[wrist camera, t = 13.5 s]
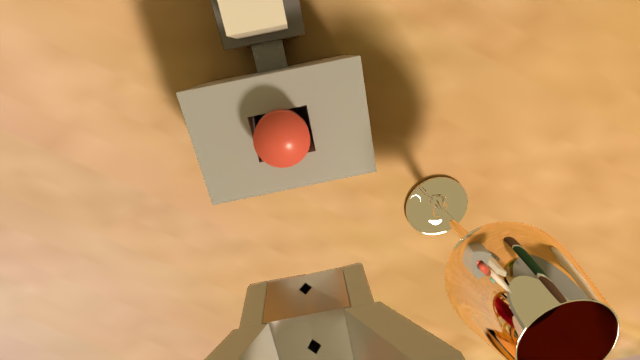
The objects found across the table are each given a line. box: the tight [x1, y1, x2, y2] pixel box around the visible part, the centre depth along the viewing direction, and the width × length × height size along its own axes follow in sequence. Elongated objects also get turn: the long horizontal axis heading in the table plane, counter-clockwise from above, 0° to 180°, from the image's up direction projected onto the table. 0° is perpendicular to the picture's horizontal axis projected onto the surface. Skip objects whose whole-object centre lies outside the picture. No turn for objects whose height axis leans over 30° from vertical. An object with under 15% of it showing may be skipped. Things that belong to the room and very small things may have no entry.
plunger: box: [253, 107, 310, 168], centre depth 26 cm, size 4×4×9 cm
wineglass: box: [406, 177, 620, 360], centre depth 27 cm, size 8×8×18 cm
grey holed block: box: [176, 55, 376, 205], centre depth 27 cm, size 12×8×8 cm, turn 101°
